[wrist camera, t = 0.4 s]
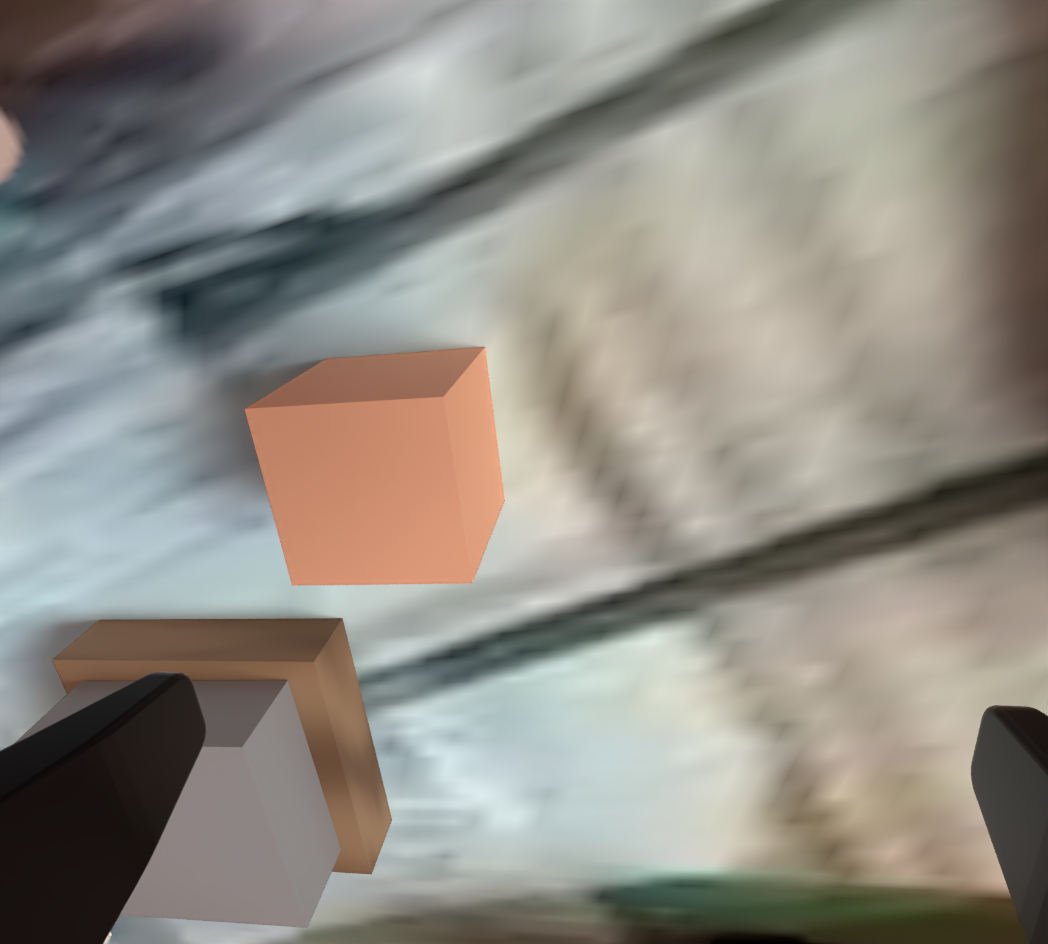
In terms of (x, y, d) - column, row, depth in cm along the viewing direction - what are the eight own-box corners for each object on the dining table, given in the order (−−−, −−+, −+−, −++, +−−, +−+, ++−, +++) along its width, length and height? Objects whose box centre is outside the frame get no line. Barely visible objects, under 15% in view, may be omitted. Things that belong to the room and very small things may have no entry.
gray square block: (341, 849, 27) (307, 927, 24) (154, 841, 28) (102, 913, 25) (287, 680, 23) (242, 747, 21) (81, 680, 25) (14, 743, 22)
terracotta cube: (505, 499, 23) (472, 583, 18) (358, 504, 23) (292, 585, 19) (485, 346, 21) (443, 396, 16) (327, 357, 21) (244, 408, 17)
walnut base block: (395, 809, 30) (371, 874, 27) (183, 799, 31) (140, 859, 29) (348, 609, 26) (313, 661, 23) (109, 611, 28) (52, 659, 25)
